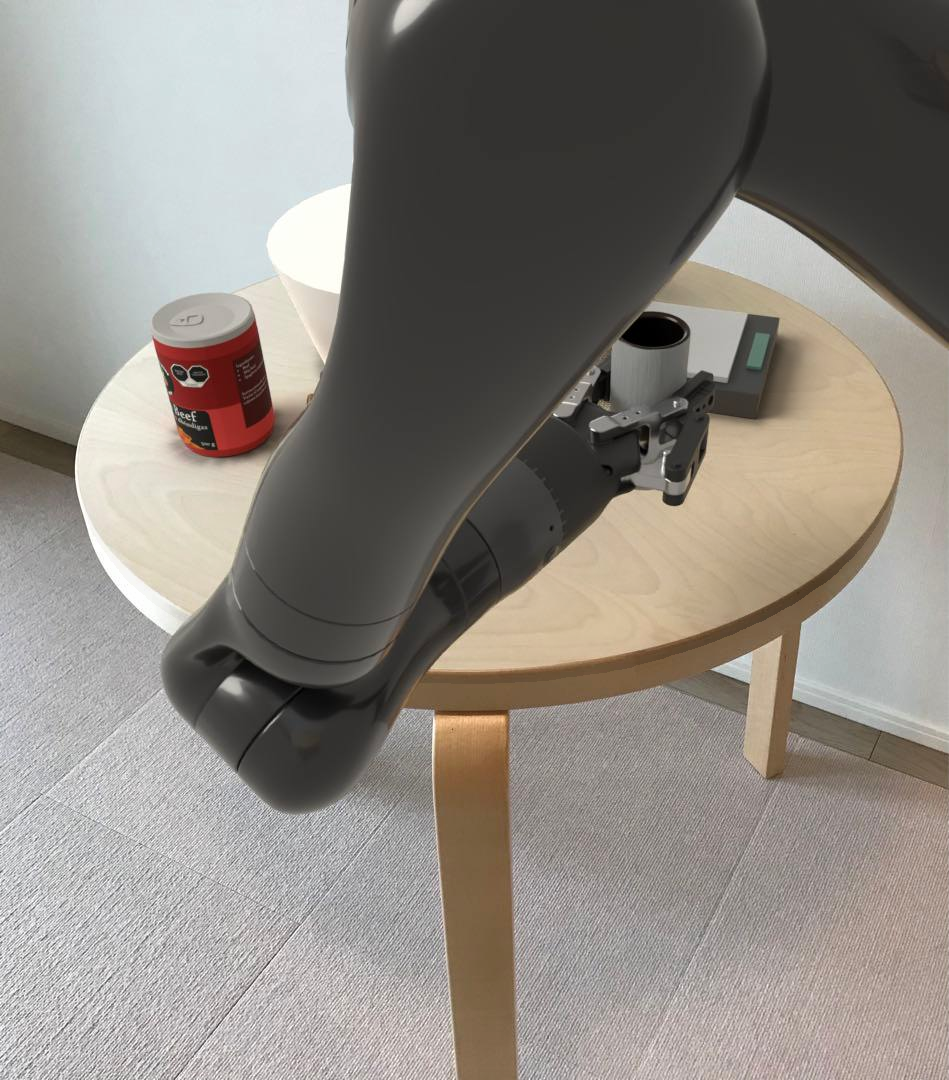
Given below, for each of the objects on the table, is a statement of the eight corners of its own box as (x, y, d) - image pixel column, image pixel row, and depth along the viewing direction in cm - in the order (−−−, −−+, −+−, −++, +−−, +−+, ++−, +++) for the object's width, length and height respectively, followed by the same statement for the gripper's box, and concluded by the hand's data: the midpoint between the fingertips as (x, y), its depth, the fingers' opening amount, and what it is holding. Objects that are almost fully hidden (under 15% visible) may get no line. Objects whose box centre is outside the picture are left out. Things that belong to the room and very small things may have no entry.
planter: (664, 498, 67) (677, 354, 60) (596, 481, 69) (601, 340, 62) (686, 458, 70) (700, 317, 63) (620, 443, 72) (627, 304, 65)
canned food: (170, 424, 91) (138, 307, 84) (259, 397, 94) (235, 282, 86) (195, 470, 86) (163, 351, 79) (289, 441, 88) (266, 322, 81)
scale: (776, 340, 97) (781, 311, 95) (755, 419, 88) (760, 388, 86) (634, 322, 100) (636, 293, 98) (600, 396, 91) (601, 366, 89)
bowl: (590, 315, 102) (593, 192, 94) (486, 454, 86) (479, 320, 78) (369, 275, 110) (356, 160, 102) (237, 395, 94) (208, 269, 86)
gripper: (617, 504, 51) (784, 352, 61) (397, 409, 58) (578, 287, 68) (612, 616, 56) (767, 459, 66) (409, 515, 63) (576, 387, 73)
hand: (670, 372), depth 67 cm, fingers closed on planter, 4 cm apart
